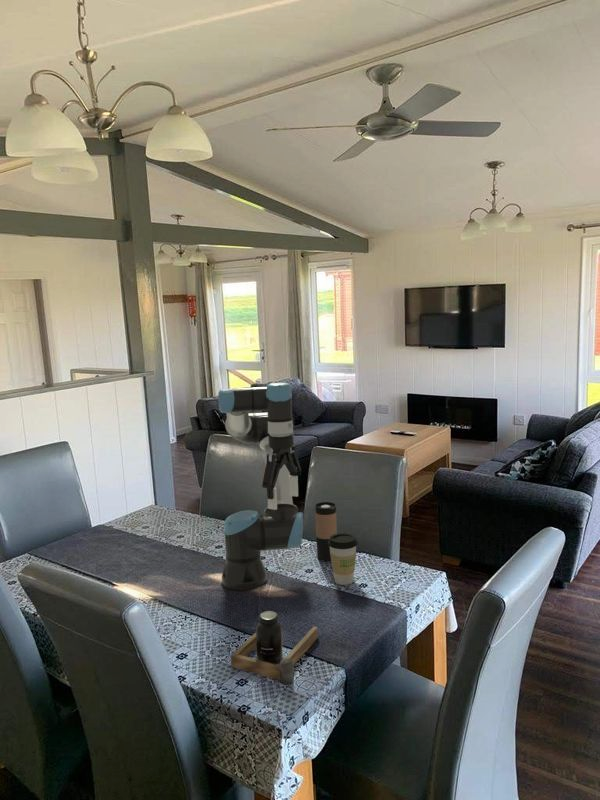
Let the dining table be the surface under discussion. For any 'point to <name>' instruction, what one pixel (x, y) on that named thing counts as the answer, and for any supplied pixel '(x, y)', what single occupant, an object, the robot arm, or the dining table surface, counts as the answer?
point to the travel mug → (325, 528)
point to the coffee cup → (343, 557)
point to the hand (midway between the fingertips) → (283, 502)
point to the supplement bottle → (269, 638)
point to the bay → (267, 669)
